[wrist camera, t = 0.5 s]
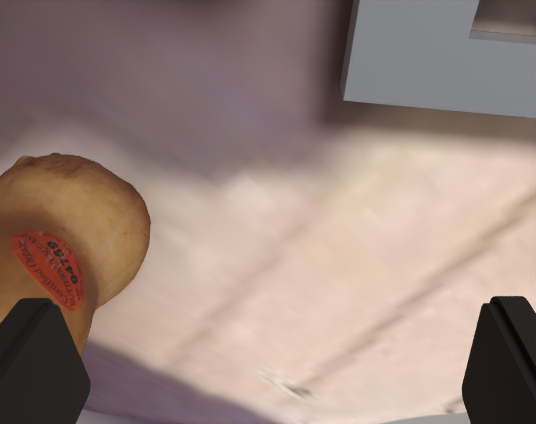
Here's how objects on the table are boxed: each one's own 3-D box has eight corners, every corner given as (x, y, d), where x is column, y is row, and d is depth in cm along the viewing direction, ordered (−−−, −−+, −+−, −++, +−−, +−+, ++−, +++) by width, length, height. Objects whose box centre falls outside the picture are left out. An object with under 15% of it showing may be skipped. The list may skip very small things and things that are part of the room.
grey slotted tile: (372, -125, 30) (381, -133, 26) (739, -94, 29) (796, -98, 26) (339, 85, 37) (343, 100, 34) (632, 112, 37) (666, 130, 33)
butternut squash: (194, 208, 44) (93, 457, 23) (108, 271, 49) (-39, 524, 28) (83, 100, 39) (-176, 292, 18) (0, 183, 44) (-278, 410, 23)
